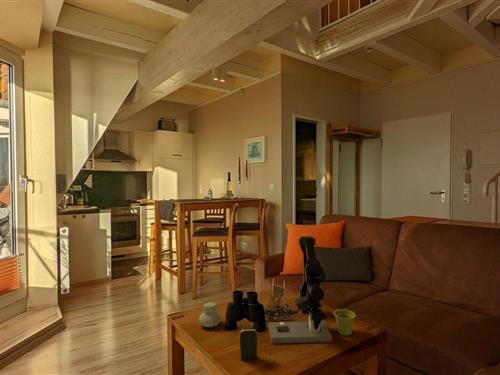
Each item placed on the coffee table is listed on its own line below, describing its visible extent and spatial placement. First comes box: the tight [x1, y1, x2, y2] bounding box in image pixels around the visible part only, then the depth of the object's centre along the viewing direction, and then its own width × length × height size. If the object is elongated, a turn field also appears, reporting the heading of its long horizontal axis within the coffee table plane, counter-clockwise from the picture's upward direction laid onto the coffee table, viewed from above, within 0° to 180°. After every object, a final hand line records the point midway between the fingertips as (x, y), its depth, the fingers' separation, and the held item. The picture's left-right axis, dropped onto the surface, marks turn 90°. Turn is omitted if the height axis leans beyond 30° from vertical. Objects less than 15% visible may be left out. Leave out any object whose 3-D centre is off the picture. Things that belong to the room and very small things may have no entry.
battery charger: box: [239, 327, 258, 361], centre depth 120 cm, size 7×4×11 cm, turn 94°
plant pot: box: [333, 309, 356, 337], centre depth 138 cm, size 9×9×9 cm
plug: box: [308, 314, 320, 332], centre depth 137 cm, size 4×4×8 cm
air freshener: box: [198, 301, 223, 328], centre depth 147 cm, size 11×8×10 cm
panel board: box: [268, 320, 333, 344], centre depth 137 cm, size 14×26×3 cm, turn 91°
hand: (314, 326), depth 137 cm, fingers open, 6 cm apart
